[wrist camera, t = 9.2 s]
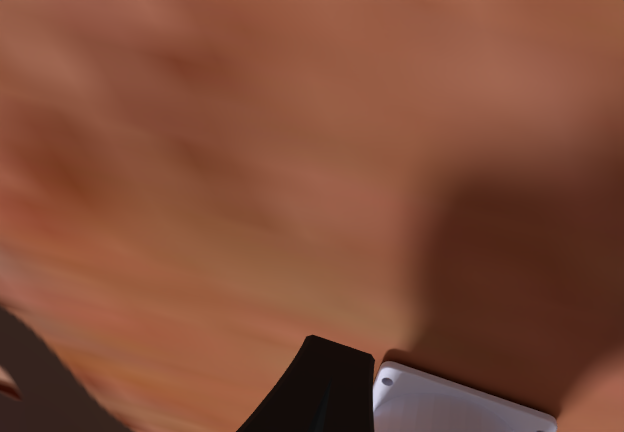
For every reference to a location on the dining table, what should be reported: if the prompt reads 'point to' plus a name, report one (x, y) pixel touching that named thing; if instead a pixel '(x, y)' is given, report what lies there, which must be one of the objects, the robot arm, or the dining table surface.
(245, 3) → the dining table surface
